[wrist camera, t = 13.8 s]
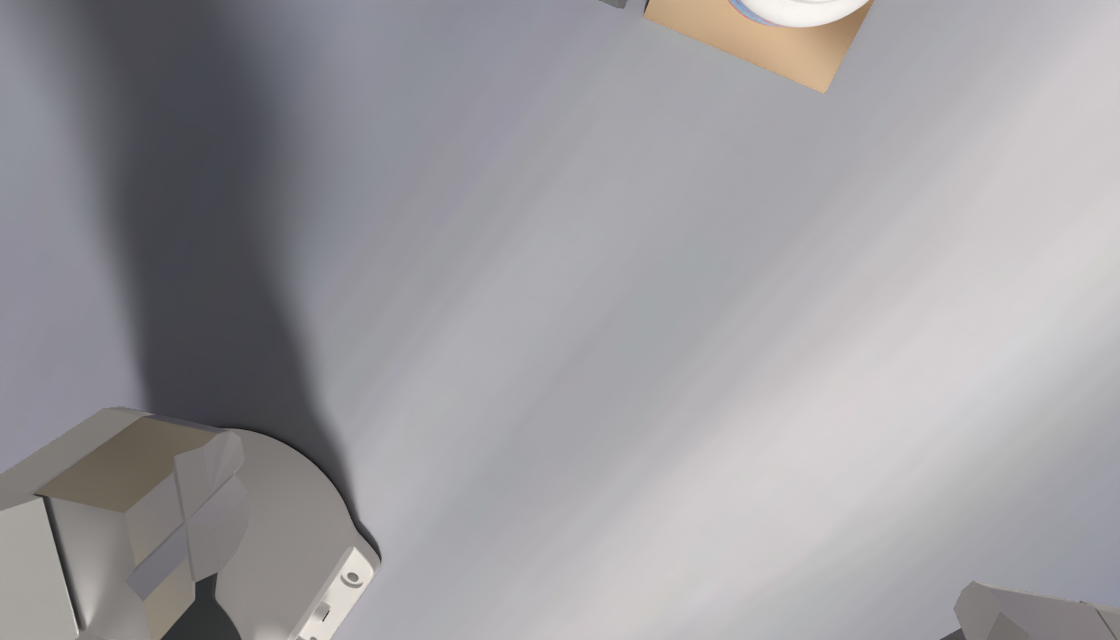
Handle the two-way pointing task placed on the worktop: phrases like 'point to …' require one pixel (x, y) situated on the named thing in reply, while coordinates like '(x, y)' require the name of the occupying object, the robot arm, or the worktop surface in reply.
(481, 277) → the worktop surface
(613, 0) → the grey square bottle holder
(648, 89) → the worktop surface
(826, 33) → the cork pad
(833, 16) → the pill bottle
